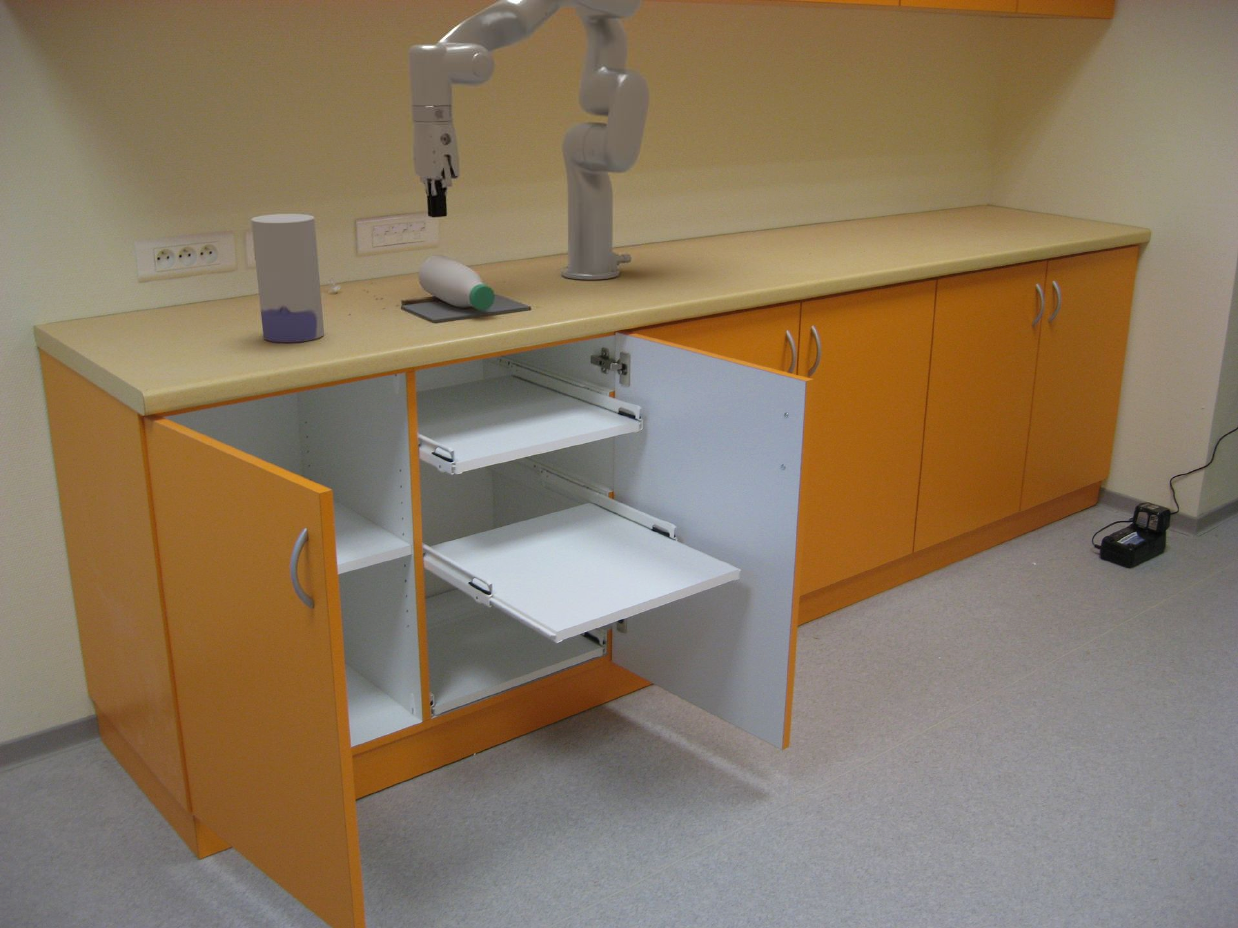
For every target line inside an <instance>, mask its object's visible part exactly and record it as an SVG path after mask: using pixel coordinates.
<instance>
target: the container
mask: <svg viewBox="0 0 1238 928" xmlns="http://www.w3.org/2000/svg"><path fill="white" fill-rule="evenodd" d="M250 221H251V230H252V240H253V251H254V259H255V268H256V269H255V270H256V279H257V290H258V297H259V299H258V300H259V307H260V317H261V326H262V335H263V336H262V337H263V339H265V340H267V341H268V342H269V341H270V342H275V343H298V342H299V343H300V342H306V341H307V342H308V341H313V340H316V339H319V338H321V337H323V336H324V335H325V329H324V328H325V327H324V315H323V314H324V313H323V304H322V294H321V293H322V292H321V281H320V279H321V278H320V269H319V257H318V248H317V247H318V245H317V243H318V242H317V235H316V223H315V222H316V221H315V216H313V215H311V214H310V215H309V214H303V213H302V214H301V213H276V214H274V213H273V214H265V215H260V216H259V215H258V216H255V217H252V218H251V220H250Z"/></svg>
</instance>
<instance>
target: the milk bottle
mask: <svg viewBox="0 0 1238 928" xmlns="http://www.w3.org/2000/svg"><path fill="white" fill-rule="evenodd" d="M418 281H419V284H420V286H421V288H422V289H423V290H424V291H425V292H427V294H429V295H430V296H431V295H432V296H435V297H437V298H439V299H441V300H443V301H445V302H447V303H449V304H451V305H453V306H456V307H460V308H468V307H474V308H476V309H478V310H486V309H488V308H490V307H491V306H492V304H493V303H494V299H495V294H496V293H495V291H494V290H493V288H492V287H491V286H489V285H487V284H485V283H484V282H483V280H482V278H481V276H480V275H479V274H478V273H477V271H475V270H474V269H472V268H470V267H468V266H466V265H464V264H462V263H460V262H458V261H456V260H454V259H452V258H449V257H448V256H445V255H442V254H435V255H432V256H429V257H427V259H425V260H424V261H423V262H422V264H421V265H420V267H419V270H418Z"/></svg>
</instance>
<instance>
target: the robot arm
mask: <svg viewBox="0 0 1238 928" xmlns="http://www.w3.org/2000/svg"><path fill="white" fill-rule="evenodd" d="M642 3H643V0H498V1H496V2H495V3H493V4H491V5H489V6H488V7H486V8H484V9H482V10H481V11H479V12H477V13H476V14H474V15H472V16H470V17H468V18H466V19H465V20H463V21H462V22H460V23H459V24H457V25H456V26H455V27H453V28H452V29H451V30H450V31H449V32H447V33H446V34H445V35H444V36H442V37H441V38H440V39H439V40H438V41H437V42H436V43H435V44H433V43H432V44H430V43H428V44H427V43H426V44H425V43H424V44H422V43H421V44H415V45H412V46H410V47H409V49H408V70H409V71H408V73H409V75H408V76H409V87H410V89H409V90H410V106H411V107H410V108H411V124H412V125H413V136H412V137H413V141H412V143H413V147H412V149H413V167H414V172H415V174H416V175H417V176H418V177H419V181H420V182H421V183H422V184H423V185H424V188H425V189H424V190H425V191H424V192H425V195H426V201H427V202H426V203H427V215H428V217H430V218H433V219H435V218H442V217H443V218H444V217H447V216H448V210H447V209H448V208H447V195H448V188H450V187H452V186H453V180H452V179H454V180H455V179H457V180H458V178H459V177H460V173H461V171H460V161H459V160H460V159H459V150H458V149H459V148H458V141H457V133H456V130H455V126H454V111H453V110H454V109H453V108H454V107H453V106H454V105H453V88H452V87H453V85H454V86H461V87H462V86H463V87H477V86H481V85H484V84H485V83H487V82H488V81H489V80H490V79H491V78H492V76H493V74H494V71H495V67H496V66H495V65H496V64H495V59H494V56H493V54H492V53H491V52H494V51H495V50H499V49H503V48H505V47H510V46H513V45H517V44H519V43H521V42H523V41H525V40H528V39H529V38H530V37H532V36H533V35H534V34H535V33H536V32H537V31H538V30H540V28H541V27H542V26H543V25H544V24H545V23H547V22H548V21H549V20H550V19H551V18H552V17H553V16H554V15H556V14H557V13H558V12H559V11H560V10H562V9H563V8H572V9H573V11H574V13H576V16H578V19H579V20H580V21H581V24H582V26H583V28H584V30H585V31H584V33H585V35H586V48H585V49H586V50H585V56H584V57H585V58H584V62H583V67H582V71H581V72H582V74H581V78H580V79H581V80H580V83H579V90H578V104H579V106H580V108H581V110H583V112H584V113H586V114H588V115H590V116H595V117H604V118H607V122H606V123H605V122H594V121H583V122H582V121H581V122H577V123H575V124H573V125H571V126H570V127H569V128H568V129H567V130H566V132H565V134H564V136H563V139H562V144H561V145H562V147H561V148H562V150H561V151H562V157H563V163H564V168H565V173H566V184H567V250H568V251H567V253H568V255H567V258H568V259H567V261H568V265H566V266H564V267H562V268H561V269H560V275H561V276H563V277H564V278H568V279H574V280H584V281H585V280H586V281H587V280H588V281H589V280H590V281H592V280H595V281H597V280H598V281H599V280H607V279H612V278H613V279H614V278H617V277H618V276H620V275H621V274H620V268H619V267H618V266H619V265H620V264H629V263H631V261H632V256H631V254H630V253H626V254H625V253H624V254H618V253H617V252H613V250H614V249H613V244H614V243H613V241H614V240H613V239H614V238H613V237H614V236H613V232H614V231H613V220H614V219H613V215H614V214H613V211H614V210H613V207H614V205H613V204H614V203H613V201H614V195H613V192H614V191H613V185H612V181H611V178H610V175H609V173H611V174H612V173H613V174H614V173H615V174H621V173H626V172H627V171H629V170H631V168H633V166H634V165H635V164H636V162H637V160H638V158H639V156H640V152H641V148H642V143H643V138H644V133H645V132H644V131H645V128H646V122H647V116H648V112H649V106H650V90H649V85H648V83H647V81H646V79H645V77H644V76H643V75H642V74H641V72H638V71H637V70H634V69H631V68H626V66H627V60H628V53H629V52H628V50H629V41H628V36H627V35H628V34H627V32H626V28H625V27H624V24H623V23H622V21H621V19H627V18H630V17H633V16H634V15H635V14H637V12H638V11H639V9H640V8H641V5H642Z"/></svg>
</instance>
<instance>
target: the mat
mask: <svg viewBox="0 0 1238 928" xmlns="http://www.w3.org/2000/svg"><path fill="white" fill-rule="evenodd" d="M494 294H495V299H494V303H493V304H492V306H491V307H490V308H488V309H486V310H478V309H476V308H474V307H468V308H460V307H456V306H453V305H451V304H449V303H447V302H445V301H443V300H442V301H434V302H427V303H419V304H411V305H403V306H402V305H400V310H402V311H405V312H407V313H409V314H412V315H414V316H417V317H419V318H421V319H423V320H426V321H428V322H430V323H433V324H439V323H446V322H453V321H460V320H466V319H475V318H482V317H483V318H484V317H488V316H497V315H503V314H504V315H505V314H510V313H518V312H524V311H525V312H527V311H531V310H532V306H530V305H527V304H524V303H522V302H519V301H517V300H513V299H510V298H508V297H505V296H503V295H501V294H500V295H499V294H497V293H494Z"/></svg>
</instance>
